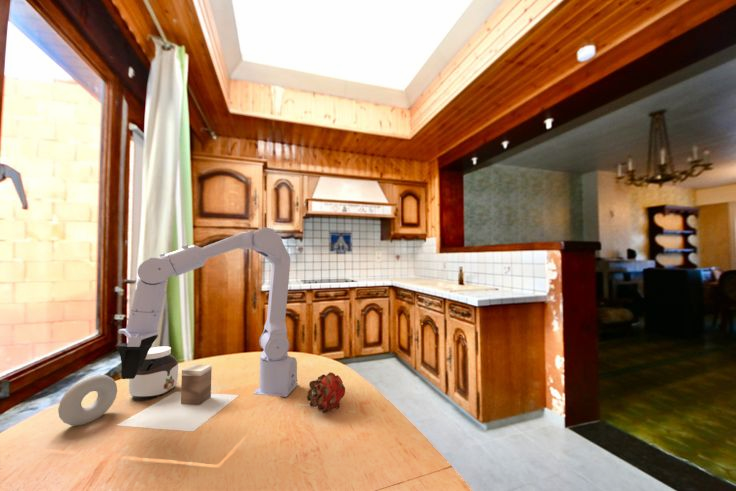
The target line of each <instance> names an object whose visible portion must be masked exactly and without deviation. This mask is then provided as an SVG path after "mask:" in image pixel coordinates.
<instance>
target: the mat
mask: <svg viewBox="0 0 736 491" xmlns="http://www.w3.org/2000/svg"><path fill="white" fill-rule="evenodd" d="M239 396H240V395H239V394H227V393H211V398H209V399H208V400H206V401H205V402H203V403H202V404H200V405H190V404H181V391H175V392H173V393H171V394H169V395H168V396H165V397H163V398H162V399H160V400H158V401H156V402H155V403H154V404H152V405H150V406H148V407H146V408H145V409H143V410H141V411H140V412H139V411H138V413H136V414H134V415H132V416H130V417H129V418H127V419H125V420H123V421H122V422H120V423H117V424H115V426H117V427H127V428H128V427H130V428H141V429H144V428H145V429H152V430H153V429H155V430H168V431H181V432H193V433H194V432H195V431H196V430H197V429H199V428H200V427H201V426H202V425H204V424H205V423H206V422H207V421H209V420H210V419H212V418H213V417H215V415H216V414H218V413H219V412H220V411H222V409H224V408H225V407H226V406H228V405H229V404H230V403H231V402H233V401H234V400H235V399H236V398H238V397H239Z"/></svg>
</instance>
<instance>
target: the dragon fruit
mask: <svg viewBox="0 0 736 491" xmlns="http://www.w3.org/2000/svg"><path fill="white" fill-rule="evenodd" d="M343 383H344V382H343V380H342V378H341V377H340V375H336V374H335V373H334V372H328V373H327V374H322V375H319V376H318V377H317V379H315V380H311V381H309V390H308V392H307V396H306V399H307V401H308V402H309V406H310V408H317V409H318V412H322V413H326V412H328V411H329V409H331V410H335V409H336V410H339V408H340V405H341V403H340V401H341V400H342V399H343V398H344V397H345V394H346V388H345V387H346V386H345V385H344V384H343Z"/></svg>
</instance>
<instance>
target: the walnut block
mask: <svg viewBox="0 0 736 491" xmlns="http://www.w3.org/2000/svg"><path fill="white" fill-rule="evenodd" d="M212 369H213V368H212V365H211V364H192V365H190V366H188V367H186V368H184V369H181V384H180V385H181V386H180V387H181V388H180V392H181V404H190V405H200V404H202V403H203V402H205V401H206V400H208V399H209V398H211V394H212Z"/></svg>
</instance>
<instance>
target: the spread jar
mask: <svg viewBox="0 0 736 491" xmlns="http://www.w3.org/2000/svg"><path fill="white" fill-rule="evenodd" d="M171 353H172V347H171V346H168V345H167V346H163V345H162V346H156V347H155V346H154V347H151V348H150V349H149V351H148V354H147V356H146V358H145V361H144V363H143V365H142V366H141V367H140V368H139V370H138V372H137V374H136V376H135V378H134V379H128V391H129V392H128V393H129V395H130V396H131V397H132V398H133V399H135V400H138V401H139V400H140V401H146V400H148V401H149V400H153V399H157V398H160V397H162V396H164V395H167V394H168V393H170V392H172V391H173V390H174V388H175V387H176V386H177V384H178V383H177V382H178V378H179V363H178V362H179V361H178V359H177V358H176V357H175V356H174V355H172V354H171Z"/></svg>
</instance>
